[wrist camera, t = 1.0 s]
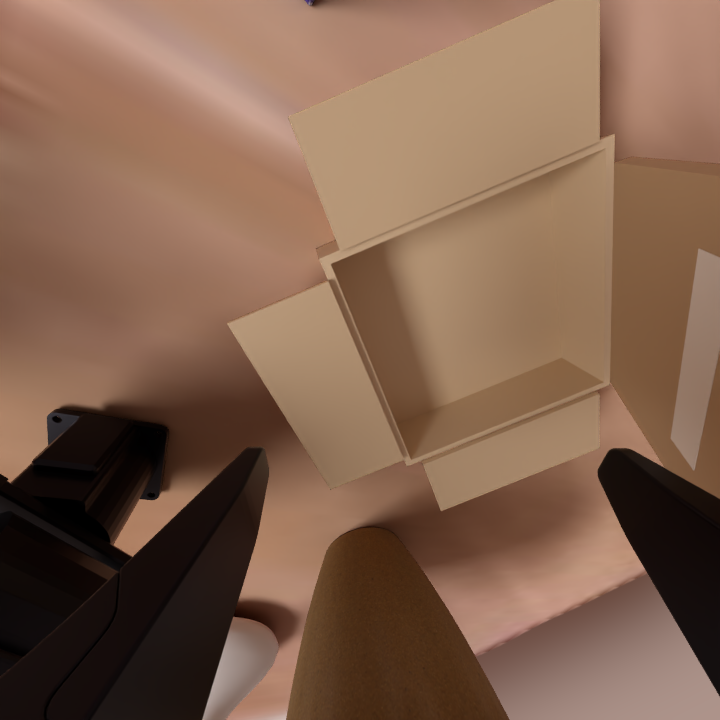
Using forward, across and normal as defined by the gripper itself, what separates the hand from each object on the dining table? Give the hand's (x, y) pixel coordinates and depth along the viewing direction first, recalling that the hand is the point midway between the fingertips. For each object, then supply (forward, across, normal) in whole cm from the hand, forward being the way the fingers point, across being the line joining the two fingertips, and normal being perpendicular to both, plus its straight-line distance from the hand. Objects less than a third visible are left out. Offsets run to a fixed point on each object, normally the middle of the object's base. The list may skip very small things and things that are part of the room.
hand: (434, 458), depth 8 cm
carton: (+13, -2, +2) cm, 14 cm away
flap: (+10, -11, -1) cm, 15 cm away
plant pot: (+11, +2, +24) cm, 27 cm away
